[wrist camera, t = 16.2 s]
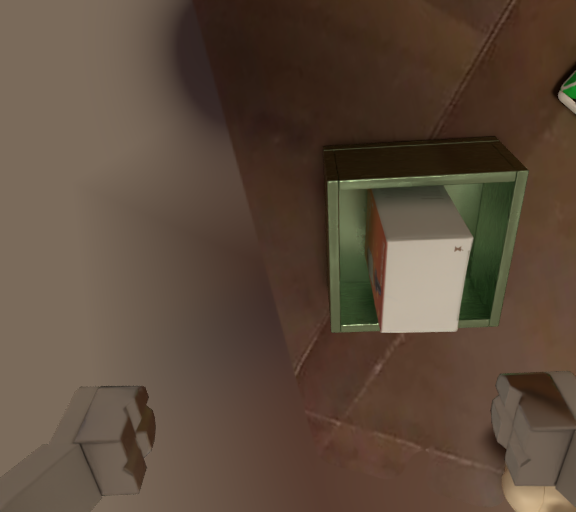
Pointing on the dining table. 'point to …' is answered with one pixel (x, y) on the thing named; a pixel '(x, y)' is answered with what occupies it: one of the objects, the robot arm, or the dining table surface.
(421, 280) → the small box
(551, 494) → the figurine
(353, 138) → the dining table surface
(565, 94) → the toy car
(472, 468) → the dining table surface
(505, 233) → the open box
